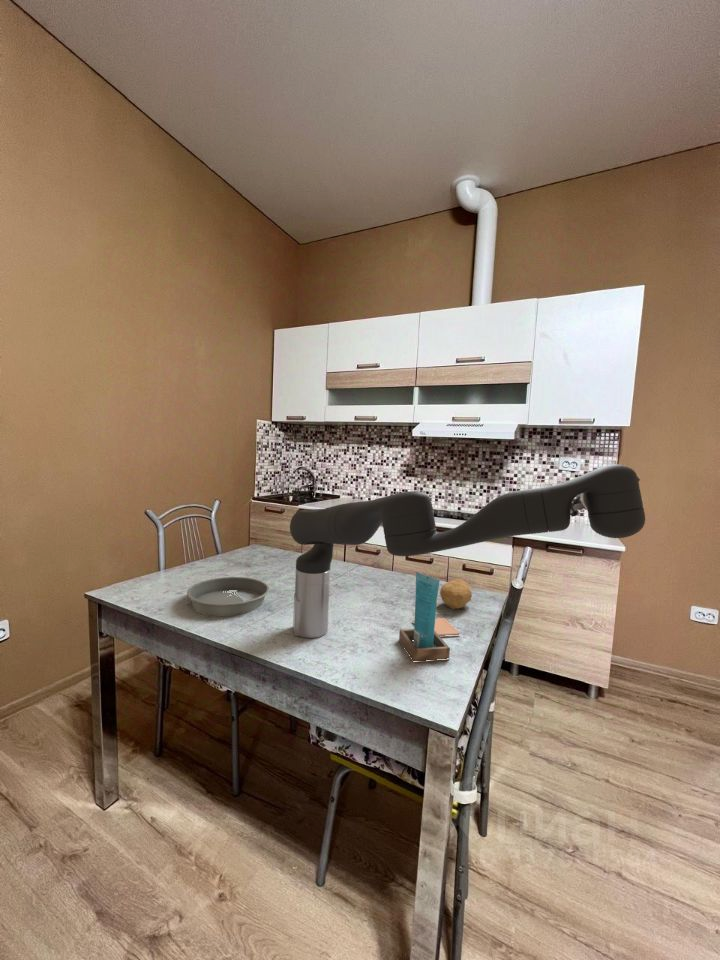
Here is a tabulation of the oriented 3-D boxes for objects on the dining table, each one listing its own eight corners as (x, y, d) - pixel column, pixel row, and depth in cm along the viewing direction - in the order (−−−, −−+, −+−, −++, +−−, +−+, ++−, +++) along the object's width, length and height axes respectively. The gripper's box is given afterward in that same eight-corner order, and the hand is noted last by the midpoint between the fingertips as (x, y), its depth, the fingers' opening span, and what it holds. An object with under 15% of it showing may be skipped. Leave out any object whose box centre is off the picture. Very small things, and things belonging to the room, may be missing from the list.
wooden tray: (413, 662, 97) (414, 650, 97) (399, 640, 108) (399, 629, 107) (449, 659, 99) (449, 648, 99) (431, 638, 110) (432, 627, 109)
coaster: (425, 638, 110) (425, 635, 110) (412, 622, 120) (412, 619, 119) (459, 636, 112) (459, 633, 112) (444, 620, 122) (444, 618, 122)
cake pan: (238, 625, 113) (239, 609, 112) (168, 610, 121) (168, 595, 120) (283, 596, 136) (283, 582, 136) (221, 585, 144) (221, 572, 144)
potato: (433, 610, 129) (434, 585, 129) (446, 597, 142) (448, 574, 141) (463, 617, 125) (465, 592, 124) (474, 603, 137) (476, 580, 136)
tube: (440, 652, 102) (445, 577, 101) (429, 659, 99) (434, 581, 97) (416, 641, 107) (420, 570, 106) (405, 647, 104) (409, 574, 102)
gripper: (579, 532, 77) (577, 522, 91) (657, 492, 71) (641, 488, 85) (555, 498, 78) (556, 494, 93) (629, 456, 73) (619, 458, 87)
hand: (597, 491), depth 89 cm, fingers open, 8 cm apart
